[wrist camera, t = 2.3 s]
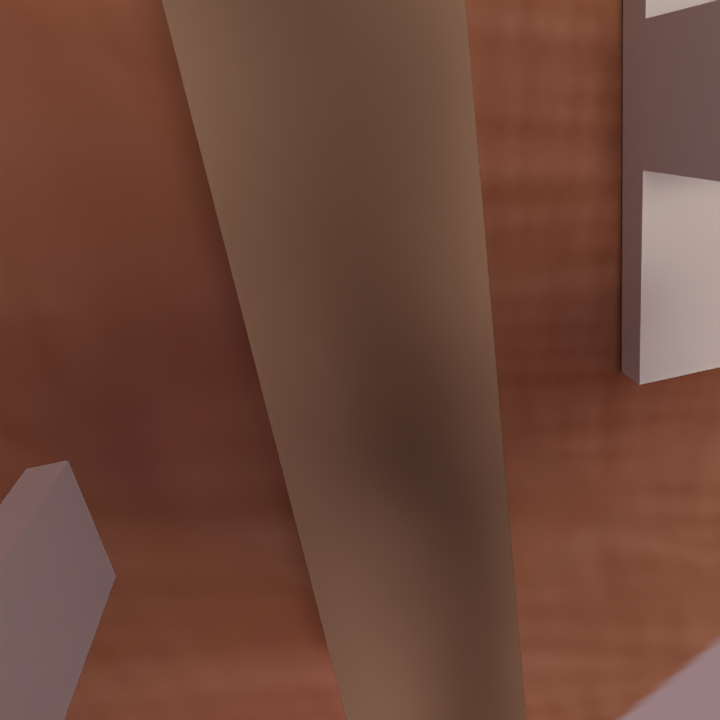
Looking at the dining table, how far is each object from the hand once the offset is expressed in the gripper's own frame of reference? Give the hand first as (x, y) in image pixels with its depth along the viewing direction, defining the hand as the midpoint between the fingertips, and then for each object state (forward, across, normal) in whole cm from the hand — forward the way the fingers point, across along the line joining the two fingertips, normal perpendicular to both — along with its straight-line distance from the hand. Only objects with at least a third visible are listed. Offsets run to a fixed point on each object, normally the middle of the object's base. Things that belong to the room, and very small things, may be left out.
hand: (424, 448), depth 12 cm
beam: (+7, 0, 0) cm, 7 cm away
